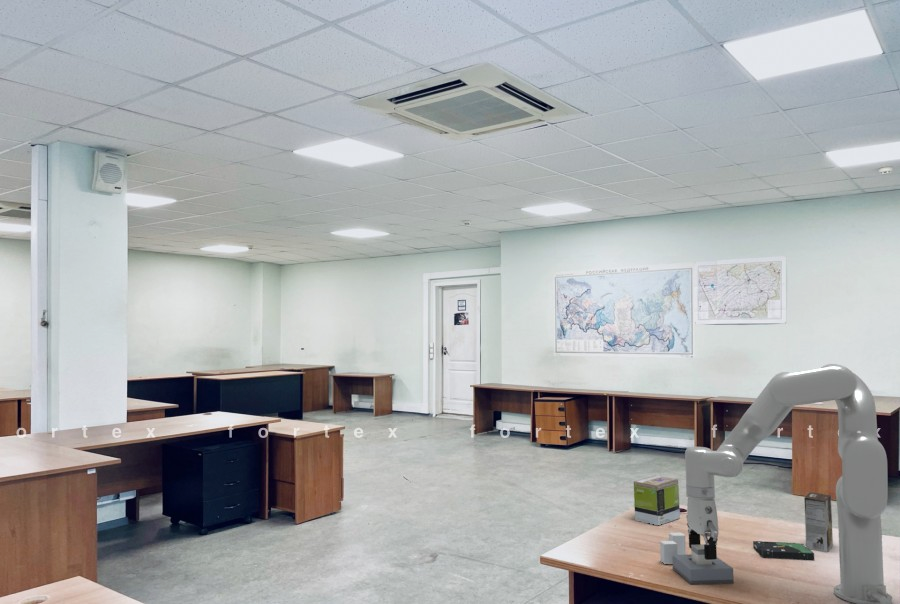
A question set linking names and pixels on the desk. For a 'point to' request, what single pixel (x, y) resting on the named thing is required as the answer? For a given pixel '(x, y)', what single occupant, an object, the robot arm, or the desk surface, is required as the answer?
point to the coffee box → (818, 522)
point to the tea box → (656, 500)
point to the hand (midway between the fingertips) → (702, 553)
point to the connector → (699, 555)
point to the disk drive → (783, 550)
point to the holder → (702, 571)
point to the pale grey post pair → (672, 547)
